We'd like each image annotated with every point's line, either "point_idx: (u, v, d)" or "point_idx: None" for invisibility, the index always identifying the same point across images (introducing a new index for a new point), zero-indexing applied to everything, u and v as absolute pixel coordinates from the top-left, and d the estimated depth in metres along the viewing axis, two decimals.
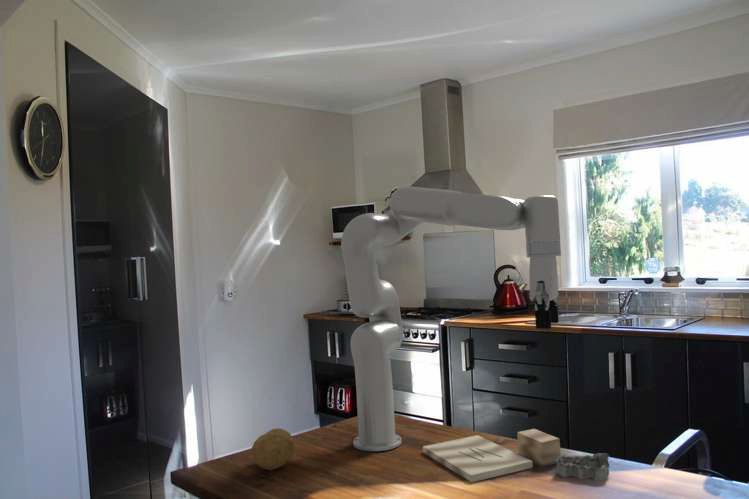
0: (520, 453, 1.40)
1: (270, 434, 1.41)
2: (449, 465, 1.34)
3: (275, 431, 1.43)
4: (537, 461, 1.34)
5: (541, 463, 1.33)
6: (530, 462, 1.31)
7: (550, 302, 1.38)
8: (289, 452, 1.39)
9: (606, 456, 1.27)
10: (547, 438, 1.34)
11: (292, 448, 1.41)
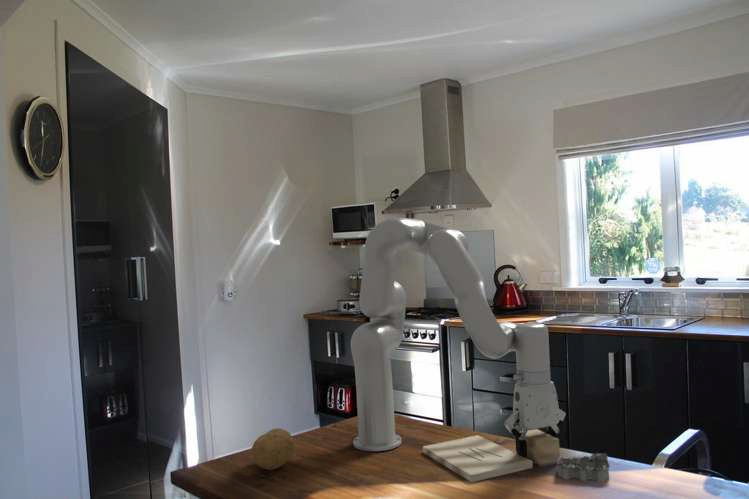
0: None
1: (270, 434, 1.41)
2: (449, 465, 1.34)
3: (275, 431, 1.43)
4: (536, 461, 1.34)
5: (539, 463, 1.33)
6: (530, 462, 1.31)
7: None
8: (289, 452, 1.39)
9: (605, 456, 1.27)
10: (547, 438, 1.34)
11: (292, 448, 1.41)
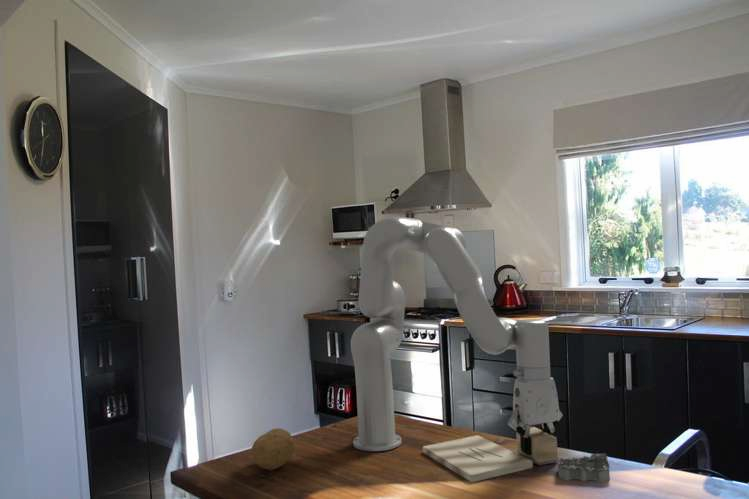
0: (518, 451, 1.40)
1: (270, 434, 1.41)
2: (449, 465, 1.34)
3: (275, 431, 1.43)
4: (533, 459, 1.34)
5: (536, 462, 1.33)
6: (530, 462, 1.31)
7: None
8: (289, 452, 1.39)
9: (604, 456, 1.27)
10: (544, 437, 1.34)
11: (292, 448, 1.41)
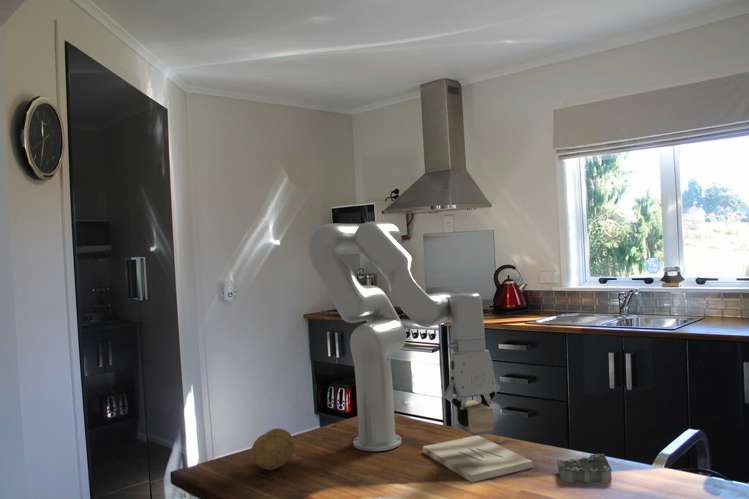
0: (458, 423, 1.41)
1: (270, 434, 1.41)
2: (449, 465, 1.34)
3: (275, 431, 1.43)
4: (470, 430, 1.35)
5: (472, 432, 1.34)
6: (530, 462, 1.31)
7: None
8: (289, 452, 1.39)
9: (603, 456, 1.27)
10: (480, 408, 1.35)
11: (292, 448, 1.41)
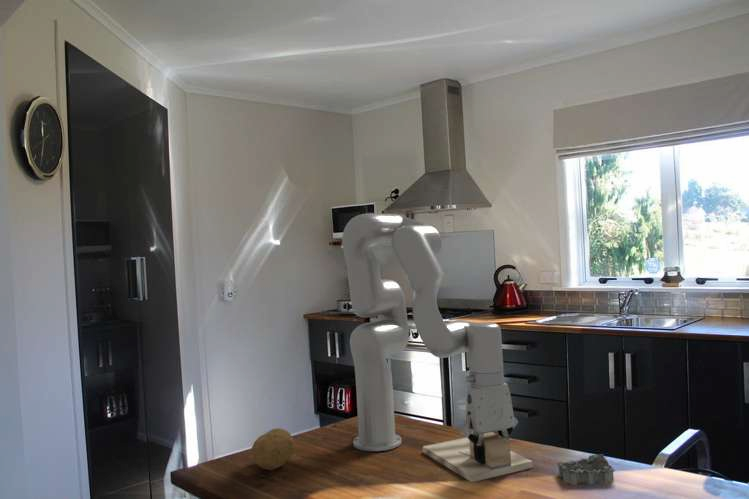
0: (472, 455, 1.35)
1: (270, 434, 1.41)
2: (449, 465, 1.34)
3: (275, 431, 1.43)
4: (486, 464, 1.29)
5: (489, 466, 1.28)
6: (530, 462, 1.31)
7: None
8: (289, 452, 1.39)
9: (602, 457, 1.27)
10: (497, 440, 1.30)
11: (292, 448, 1.41)
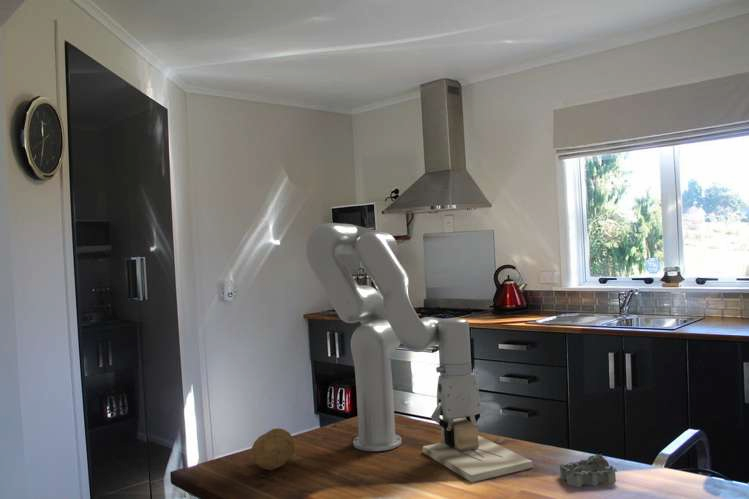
0: (443, 439, 1.47)
1: (270, 434, 1.41)
2: (449, 465, 1.34)
3: (275, 431, 1.43)
4: (456, 446, 1.41)
5: (459, 448, 1.40)
6: (530, 462, 1.31)
7: None
8: (289, 452, 1.39)
9: (601, 457, 1.27)
10: (466, 424, 1.42)
11: (292, 448, 1.41)
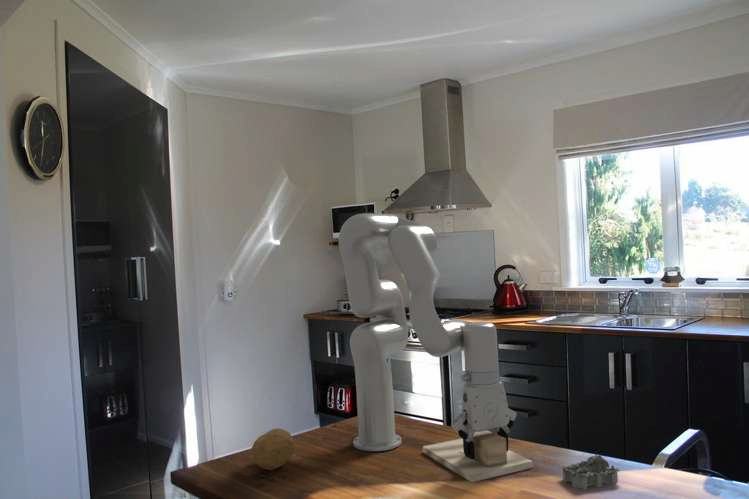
0: None
1: (270, 434, 1.41)
2: (449, 465, 1.34)
3: (275, 431, 1.43)
4: (483, 461, 1.31)
5: (486, 464, 1.30)
6: (530, 462, 1.31)
7: None
8: (289, 452, 1.39)
9: (600, 457, 1.27)
10: (493, 438, 1.31)
11: (292, 448, 1.41)
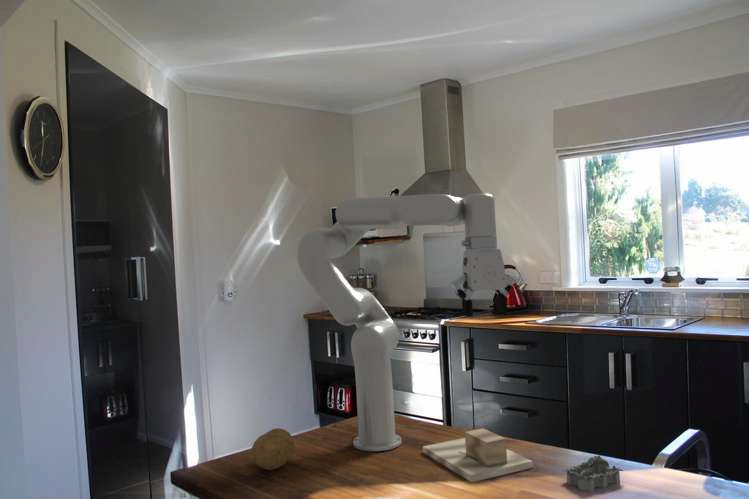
0: (467, 453, 1.36)
1: (270, 434, 1.41)
2: (449, 465, 1.34)
3: (275, 431, 1.43)
4: (483, 461, 1.31)
5: (486, 464, 1.30)
6: (530, 462, 1.31)
7: None
8: (289, 452, 1.39)
9: (600, 458, 1.26)
10: (493, 438, 1.31)
11: (292, 448, 1.41)
